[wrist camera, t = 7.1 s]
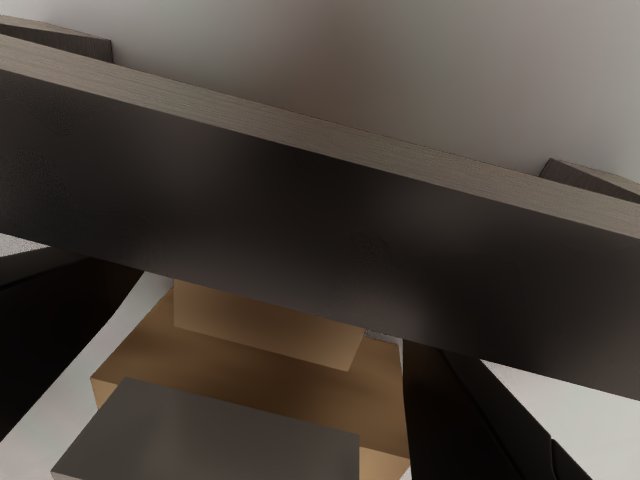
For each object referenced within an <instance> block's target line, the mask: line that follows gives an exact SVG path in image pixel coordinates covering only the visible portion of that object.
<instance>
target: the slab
mask: <svg viewBox="0 0 640 480" xmlns="http://www.w3.org/2000/svg"><path fill="white" fill-rule="evenodd" d="M359 443H360V435H359V434H355V433H351V432H347V431H343V430H338V429H334V428H330V427H326V426H322V425H318V424H314V423H310V422H306V421H302V420H298V419H294V418H290V417H286V416H282V415H278V414H274V413H270V412H266V411H262V410H258V409H254V408H250V407H246V406H242V405H238V404H234V403H230V402H226V401H222V400H218V399H214V398H210V397H206V396H202V395H198V394H194V393H190V392H186V391H182V390H178V389H174V388H170V387H166V386H162V385H158V384H154V383H150V382H146V381H142V380H138V379H134V378H130V377H126V376H125V377H124V379H123V380H122V381H121V382H120V384H119V385H118V386H117V387H116V389H115V390H114V391H113V392H112V394H111V395H110V396H109V397H108V399H107V400H106V401H105V403H104V404H103V405H102V406H101V408H100V409H99V410H98V411H97V413H96V414H95V415H94V416H93V418H92V419H91V420H90V421H89V423H88V424H87V425H86V427H85V428H84V429H83V430H82V432H81V433H80V434H79V435H78V437H77V438H76V439H75V440H74V442H73V443H72V444H71V445H70V447H69V448H68V449H67V451H66V452H65V453H64V454H63V456H62V457H61V458H60V459H59V461H58V462H57V463H56V464H55V466H54V467H53V468H52V470H51V471H50V472H51V475H52V477H53V479H54V480H359Z"/></svg>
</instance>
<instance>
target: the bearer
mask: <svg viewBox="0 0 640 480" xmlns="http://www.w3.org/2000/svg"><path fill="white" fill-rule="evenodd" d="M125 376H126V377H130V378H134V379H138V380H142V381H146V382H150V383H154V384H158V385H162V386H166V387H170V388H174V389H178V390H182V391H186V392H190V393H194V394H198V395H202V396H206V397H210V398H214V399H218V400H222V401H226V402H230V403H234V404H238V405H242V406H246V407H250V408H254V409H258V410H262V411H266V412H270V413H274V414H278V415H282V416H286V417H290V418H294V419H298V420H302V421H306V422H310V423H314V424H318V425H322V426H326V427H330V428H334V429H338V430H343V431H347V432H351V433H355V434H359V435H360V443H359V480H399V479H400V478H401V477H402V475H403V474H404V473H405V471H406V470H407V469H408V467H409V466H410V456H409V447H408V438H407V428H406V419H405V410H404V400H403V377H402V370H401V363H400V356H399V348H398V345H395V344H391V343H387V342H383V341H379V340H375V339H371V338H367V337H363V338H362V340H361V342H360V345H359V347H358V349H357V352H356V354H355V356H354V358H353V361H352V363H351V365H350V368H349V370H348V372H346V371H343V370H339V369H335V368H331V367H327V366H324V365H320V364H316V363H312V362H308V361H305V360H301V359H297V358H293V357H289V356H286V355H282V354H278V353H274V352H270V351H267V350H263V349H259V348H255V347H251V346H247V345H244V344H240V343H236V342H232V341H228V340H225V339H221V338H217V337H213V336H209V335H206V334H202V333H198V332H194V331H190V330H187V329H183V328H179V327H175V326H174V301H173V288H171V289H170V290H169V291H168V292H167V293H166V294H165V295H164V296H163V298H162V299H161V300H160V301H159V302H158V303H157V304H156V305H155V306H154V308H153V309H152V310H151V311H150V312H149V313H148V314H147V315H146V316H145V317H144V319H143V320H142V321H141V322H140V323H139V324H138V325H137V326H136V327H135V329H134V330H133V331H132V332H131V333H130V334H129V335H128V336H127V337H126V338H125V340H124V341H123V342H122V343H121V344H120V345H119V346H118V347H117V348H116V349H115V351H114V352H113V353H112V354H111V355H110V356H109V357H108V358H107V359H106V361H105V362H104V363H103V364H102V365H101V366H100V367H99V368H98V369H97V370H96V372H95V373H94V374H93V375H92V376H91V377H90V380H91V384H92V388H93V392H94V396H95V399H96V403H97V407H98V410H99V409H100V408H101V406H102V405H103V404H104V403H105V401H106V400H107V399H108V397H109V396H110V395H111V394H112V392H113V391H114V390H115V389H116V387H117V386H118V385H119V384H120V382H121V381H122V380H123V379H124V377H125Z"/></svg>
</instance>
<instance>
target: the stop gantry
mask: <svg viewBox="0 0 640 480" xmlns="http://www.w3.org/2000/svg"><path fill="white" fill-rule="evenodd" d="M0 233H3V234H7V235H10V236H14V237H18V238H22V239H26V240H29V241H33V242H37V243H41V244H45V245H48V246H52V247H56V248H60V249H64V250H67V251H71V252H75V253H79V254H83V255H86V256H90V257H94V258H98V259H102V260H106V261H109V262H113V263H117V264H121V265H125V266H128V267H132V268H136V269H140V270H144V271H147V272H151V273H155V274H159V275H163V276H166V277H170V278H174V279H178V280H182V281H185V282H189V283H193V284H197V285H201V286H204V287H208V288H212V289H216V290H220V291H223V292H227V293H231V294H235V295H239V296H242V297H246V298H250V299H254V300H258V301H261V302H265V303H269V304H273V305H277V306H280V307H284V308H288V309H292V310H296V311H299V312H303V313H307V314H311V315H315V316H318V317H322V318H326V319H330V320H334V321H337V322H341V323H345V324H349V325H353V326H356V327H360V328H364V329H368V330H372V331H375V332H379V333H383V334H387V335H391V336H394V337H398V338H402V339H406V340H410V341H413V342H417V343H421V344H425V345H429V346H432V347H436V348H440V349H444V350H448V351H451V352H455V353H459V354H463V355H467V356H470V357H474V358H478V359H482V360H486V361H489V362H493V363H497V364H501V365H505V366H508V367H512V368H516V369H520V370H524V371H528V372H531V373H535V374H539V375H543V376H547V377H550V378H554V379H558V380H562V381H566V382H569V383H573V384H577V385H581V386H585V387H588V388H592V389H596V390H600V391H604V392H607V393H611V394H615V395H619V396H623V397H626V398H630V399H634V400H638V401H640V184H638V183H635V182H633V181H630V180H628V179H625V178H622V177H620V176H617V175H613V174H609V173H605V172H602V171H598V170H594V169H590V168H587V167H583V166H579V165H575V164H572V163H568V162H564V161H560V160H557V159H553V158H550V160H549V162H548V163H547V165H546V167H545V168H544V170H543V171H542V173H541V175H540V176H539V177H536V176H532V175H528V174H524V173H521V172H517V171H513V170H509V169H506V168H502V167H498V166H494V165H491V164H487V163H483V162H479V161H476V160H472V159H468V158H464V157H461V156H457V155H453V154H449V153H446V152H442V151H438V150H434V149H431V148H427V147H423V146H419V145H415V144H412V143H408V142H404V141H400V140H397V139H393V138H389V137H385V136H382V135H378V134H374V133H370V132H367V131H363V130H359V129H355V128H352V127H348V126H344V125H340V124H337V123H333V122H329V121H325V120H322V119H318V118H314V117H310V116H307V115H303V114H299V113H295V112H292V111H288V110H284V109H280V108H277V107H273V106H269V105H265V104H262V103H258V102H254V101H250V100H247V99H243V98H239V97H235V96H232V95H228V94H224V93H220V92H217V91H213V90H209V89H205V88H202V87H198V86H194V85H190V84H187V83H183V82H179V81H175V80H172V79H168V78H164V77H160V76H157V75H153V74H149V73H145V72H142V71H138V70H134V69H130V68H127V67H123V66H119V65H115V64H113V61H112V51H111V41H110V40H107V39H103V38H100V37H96V36H92V35H88V34H85V33H81V32H77V31H73V30H70V29H66V28H62V27H58V26H55V25H51V24H47V23H43V22H38V21H33V20H27V19H21V18H16V17H10V16H4V15H0Z"/></svg>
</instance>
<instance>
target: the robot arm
mask: <svg viewBox="0 0 640 480" xmlns="http://www.w3.org/2000/svg"><path fill="white" fill-rule="evenodd" d="M143 273H144V270H140V269H136V268H132V267H128V266H125V265H121V264H117V263H113V262H109V261H106V260H102V259H98V258H94V257H90V256H86V255H83V254H79V253H75V252H71V251H67V250H64V249H60V248H56V247H52V246H50V247H46V248H41V249H36V250H31V251H27V252H22V253H17V254H13V255H8V256H3V257H0V442H1V441H2V440H3V439H4V438H5V437H6V435H7V434H8V433H9V432H10V431H11V430H12V429H13V428H14V426H15V425H16V424H17V423H18V422H19V421H20V420H21V419H22V417H23V416H24V415H25V414H26V413H27V412H28V411H29V410H30V408H31V407H32V406H33V405H34V404H35V403H36V402H37V401H38V399H39V398H40V397H41V396H42V395H43V394H44V393H45V392H46V390H47V389H48V388H49V387H50V386H51V385H52V384H53V382H54V381H55V380H56V379H57V378H58V377H59V376H60V375H61V373H62V372H63V371H64V370H65V369H66V368H67V367H68V366H69V364H70V363H71V362H72V361H73V360H74V359H75V358H76V357H77V355H78V354H79V353H80V352H81V351H82V350H83V349H84V348H85V346H86V345H87V344H88V343H89V342H90V341H91V340H92V339H93V337H94V336H95V335H96V334H97V333H98V332H99V331H100V330H101V328H102V327H103V326H104V325H105V324H106V323H107V321H108V320H109V319H110V318H111V317H112V316H113V314H114V313H115V312H116V310H117V309H118V308H119V306H120V305H121V304H122V302H123V301H124V299H125V298H126V297H127V295H128V294H129V292H130V291H131V290H132V288H133V287H134V285H135V284H136V283H137V281H138V280H139V278H140V277H141V276H142V274H143ZM403 400H404V410H405V419H406V428H407V438H408V447H409V456H410V466H411V475H412V480H593V479H592V478H591V477H590V476H589V475H588V474H587V473H586V472H585V471H584V470H583V469H582V468H581V467H580V466H579V465H578V464H577V463H576V462H575V461H574V460H573V459H572V458H571V456H570V455H569V454H568V453H567V452H566V451H565V450H564V449H563V448H562V447H561V446H560V445H559V444H558V442H557V441H556V440H554V439H551V435H550V434H549V433H548V432H547V431H546V430H545V429H544V428H543V427H542V425H541V424H540V423H539V422H538V421H537V420H536V419H535V418H534V417H533V416H532V415H531V414H530V413H529V412H528V410H527V409H526V408H525V407H524V406H523V405H522V404H521V403H520V402H519V401H518V400H517V399H516V398H515V397H514V395H513V394H512V393H511V392H510V391H509V390H508V389H507V388H506V387H505V386H504V385H503V384H502V383H501V382H500V380H499V379H498V378H497V377H496V376H495V375H494V374H493V373H492V372H491V371H490V370H489V369H488V368H487V367H486V365H485V364H484V363H483V362H482V361H481V360H480V359H478V358H474V357H470V356H467V355H463V354H459V353H455V352H451V351H448V350H444V349H440V348H436V347H432V346H429V345H425V344H421V343H417V342H413V341H410V340H406V339H403Z"/></svg>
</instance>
